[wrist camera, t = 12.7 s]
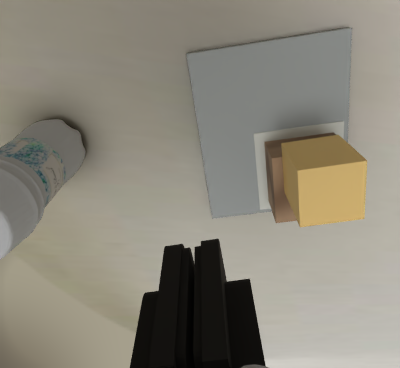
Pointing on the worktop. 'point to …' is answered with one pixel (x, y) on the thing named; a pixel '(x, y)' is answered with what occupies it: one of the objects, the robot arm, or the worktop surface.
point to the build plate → (265, 108)
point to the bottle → (34, 176)
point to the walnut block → (280, 178)
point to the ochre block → (324, 180)
